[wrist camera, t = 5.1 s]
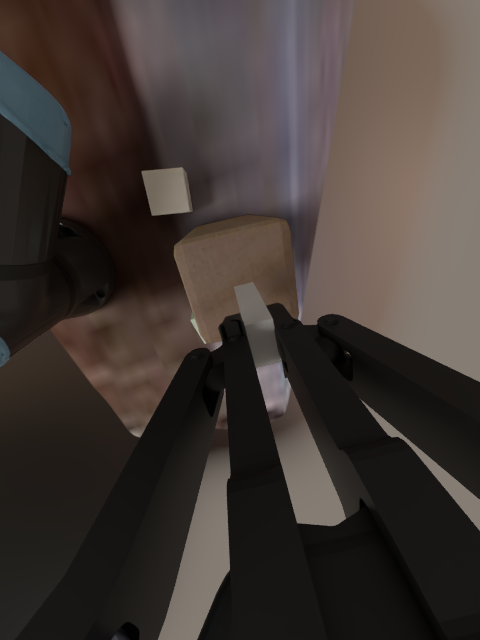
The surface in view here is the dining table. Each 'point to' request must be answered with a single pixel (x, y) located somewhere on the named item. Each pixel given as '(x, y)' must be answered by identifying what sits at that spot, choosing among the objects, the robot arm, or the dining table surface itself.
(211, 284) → the wooden block
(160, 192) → the cream cube
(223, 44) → the dining table surface
